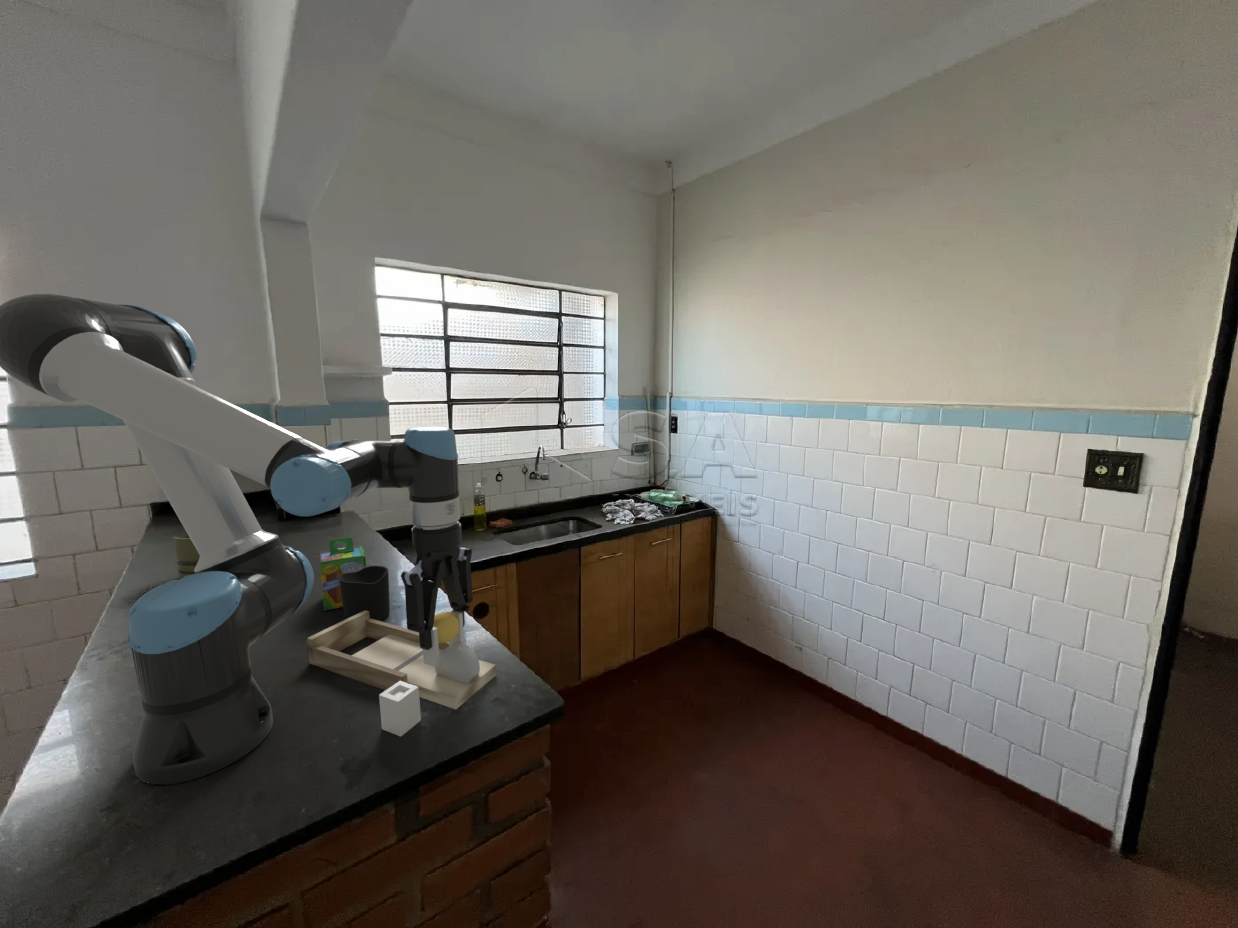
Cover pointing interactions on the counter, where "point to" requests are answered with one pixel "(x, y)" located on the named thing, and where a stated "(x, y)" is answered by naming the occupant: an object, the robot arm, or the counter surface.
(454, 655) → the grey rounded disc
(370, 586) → the pen holder
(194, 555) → the piston
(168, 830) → the counter surface
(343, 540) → the chalk box
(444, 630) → the ball
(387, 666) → the lane
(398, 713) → the tee
